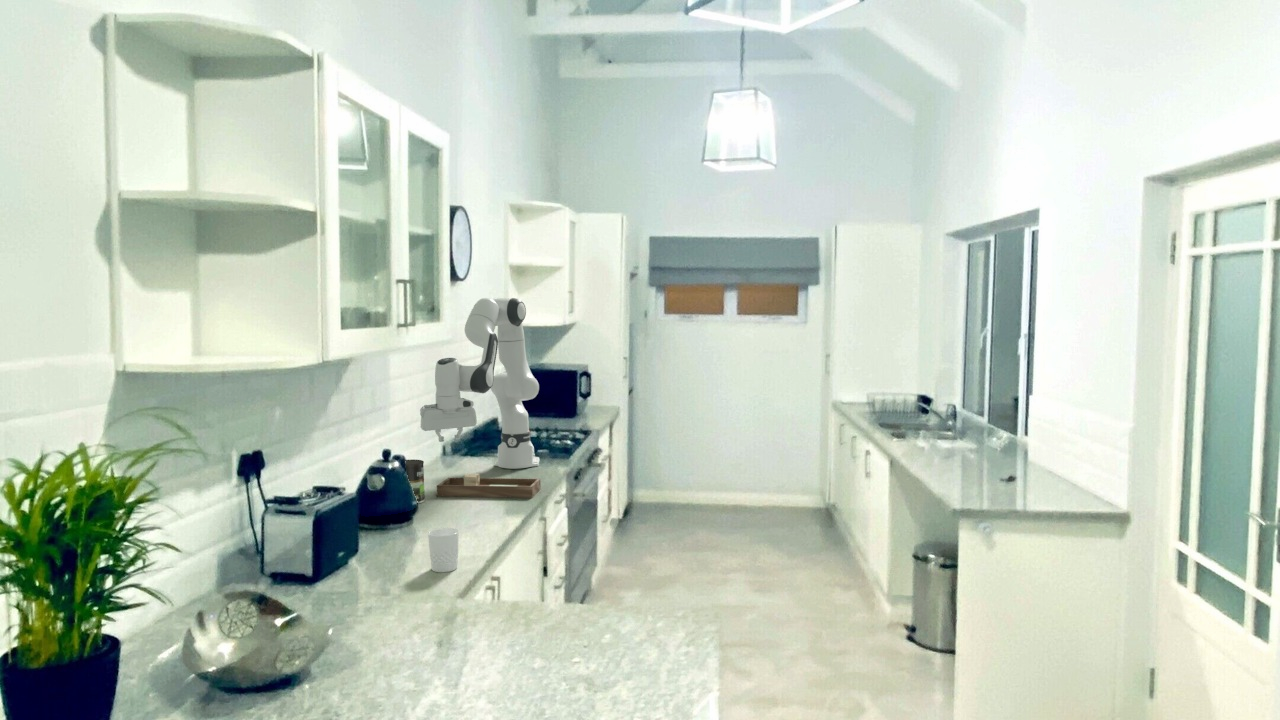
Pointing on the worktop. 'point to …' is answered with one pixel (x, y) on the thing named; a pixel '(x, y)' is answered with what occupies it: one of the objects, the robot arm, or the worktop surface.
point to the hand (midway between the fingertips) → (449, 440)
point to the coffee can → (416, 478)
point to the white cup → (443, 549)
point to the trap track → (490, 488)
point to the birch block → (472, 480)
